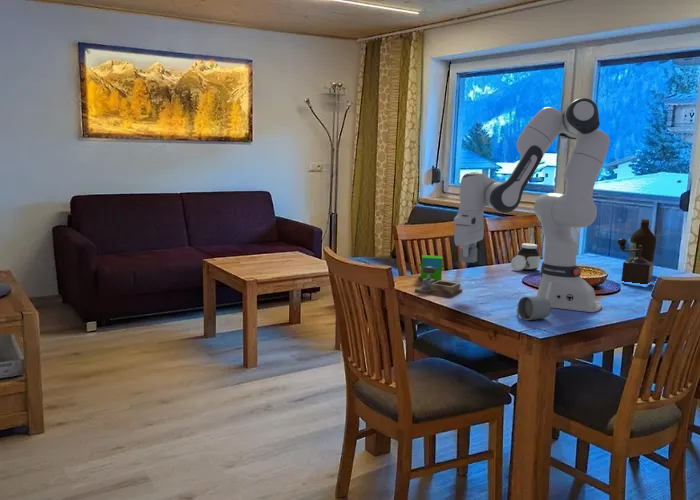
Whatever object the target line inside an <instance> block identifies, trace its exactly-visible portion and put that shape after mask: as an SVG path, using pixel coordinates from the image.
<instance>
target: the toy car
mask: <svg viewBox="0 0 700 500" xmlns="http://www.w3.org/2000/svg"><path fill="white" fill-rule="evenodd" d="M418 266H419V267H420V281H421V282H422V280H423V279H426V278H427V273H425V272H423V267H428V266H429V267H435V273H430V279H434V281H439V280H440V281H442V277H443V276H442V273H443V268H444V266H445V265H443V256H442V255H427V254H425V255H424V254H422V255H421V263H419V264H418Z"/></svg>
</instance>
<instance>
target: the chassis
mask: <svg viewBox="0 0 700 500" xmlns="http://www.w3.org/2000/svg"><path fill="white" fill-rule="evenodd" d="M415 292H416V293H419V292H421V294H425V293H426V294H427V295H431V294H433V296H437V295H439V296H438V297H443V296H444V297H445V298H449V297H450V298H452V297H455V296H456V295H459V294H460V293H462V292H463V289H462V288H461V283H458V282H452V281H445V280H441V281H440V280H439V281H438V280H434V279H430V280H427V278H426V279H423V280H422V281H421V286H419V287H416V288H415V289H414V293H415ZM444 297H443V298H444Z"/></svg>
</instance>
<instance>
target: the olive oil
mask: <svg viewBox="0 0 700 500" xmlns="http://www.w3.org/2000/svg"><path fill="white" fill-rule="evenodd" d="M649 227H650V219H648V218H647V219H646V218H642V219H641V221H640V227H639V228H638V229H637V230H636V231H634V232H633V233H632V234H631V237H630V239H629V250H636V249H638V248H639V245H642V250H641V256H642V258H644V259H646V260H647V261H649V262H653V261H654V255H655V250H656V245H657V239H656V235H655V234H654V233H653V232H652V231H651V229H650V228H649ZM628 254H629V255H628V259H632V258H635V257H638V254H639V251H634V252H628Z"/></svg>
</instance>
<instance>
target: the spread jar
mask: <svg viewBox="0 0 700 500" xmlns="http://www.w3.org/2000/svg"><path fill="white" fill-rule="evenodd" d="M540 263H541V253H540V250H538V244H535V243H526V242H525V243H521V248H519V250H518V251H517V254H516V256H514V257H513V258H512V259H511V261H510V267H511V269H513V270H514V271H516V272H522V271H523V270H524V271H523V272H536V271H537V270H538V269H539V267H540Z"/></svg>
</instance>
